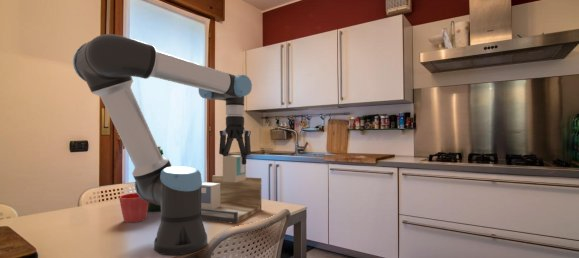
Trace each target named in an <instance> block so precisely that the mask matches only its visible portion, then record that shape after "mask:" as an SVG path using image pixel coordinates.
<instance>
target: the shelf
mask: <svg viewBox="0 0 579 258" xmlns="http://www.w3.org/2000/svg"><path fill="white" fill-rule="evenodd" d="M211 183H220V207H217V208H215V209H205V208H201V218H202V220H206V221H213V220H214V222H221V223H222V222H223V223H229V222H232V224H238V223H240V222H242V221H244V220H245V219H247V218H249V217H251V216H253V215H255V214H257V213H258V212H260V211H262V178H261V177H252V176H251V177H247V176H246V180H242V181H238V182H223V175H214V174H213V175H212V182H211ZM254 213H255V214H254ZM252 214H253V215H252ZM243 219H244V220H243ZM241 220H242V221H241ZM239 221H240V222H239ZM237 222H238V223H237Z"/></svg>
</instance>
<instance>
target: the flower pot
mask: <svg viewBox="0 0 579 258" xmlns="http://www.w3.org/2000/svg"><path fill="white" fill-rule="evenodd" d="M118 200H119V203H120V208H121V209H120V210H121V214H122V218H123V219H122V220H123V222H125V223H138V222H142V221H145V220H146V219H147V215H148V205H149V202H147V201H145V200H143V199H142V198H141V197H139V195H138V194H137V192H133V193H126V194H123V195H120V196H119V198H118Z"/></svg>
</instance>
